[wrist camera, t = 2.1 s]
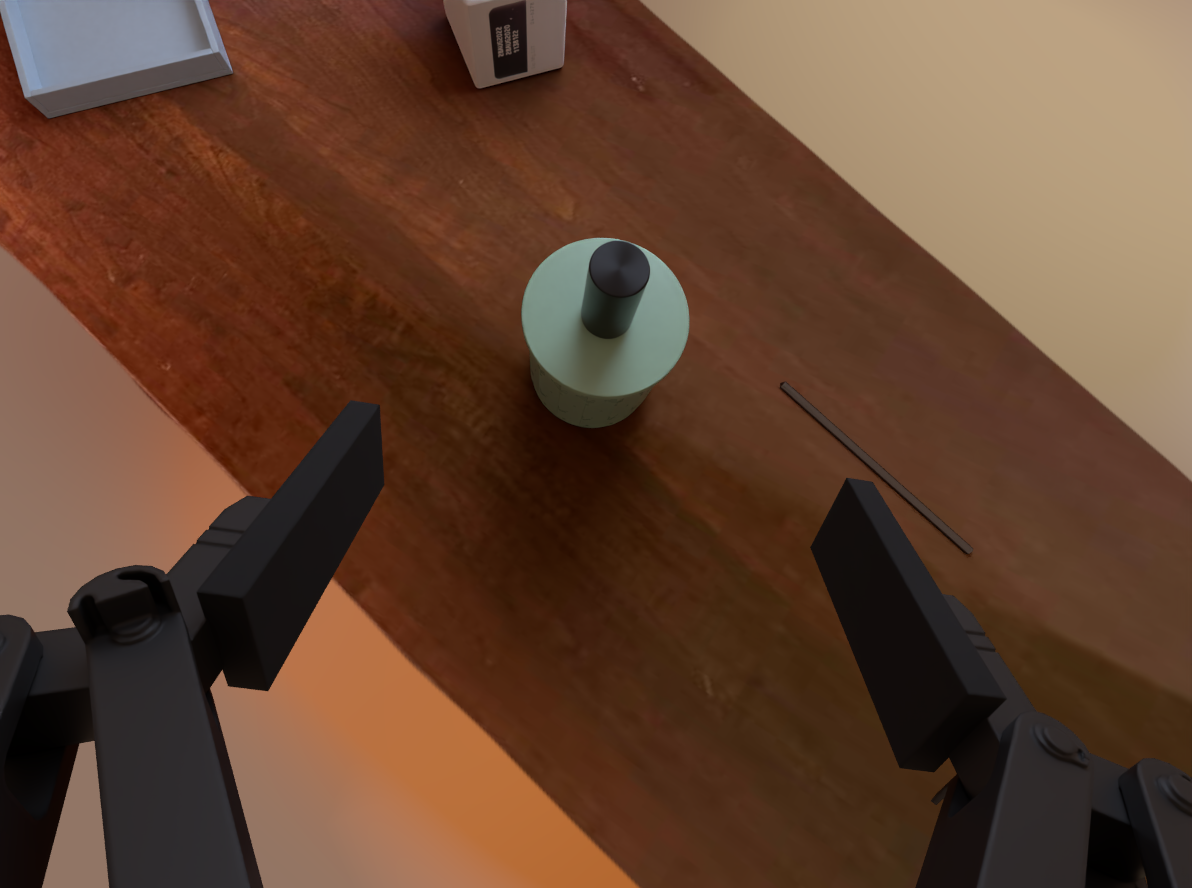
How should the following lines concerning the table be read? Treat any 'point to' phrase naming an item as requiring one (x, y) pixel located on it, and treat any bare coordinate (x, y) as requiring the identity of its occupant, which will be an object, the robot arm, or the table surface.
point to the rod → (876, 468)
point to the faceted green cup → (581, 402)
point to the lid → (605, 318)
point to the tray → (109, 49)
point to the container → (508, 37)
